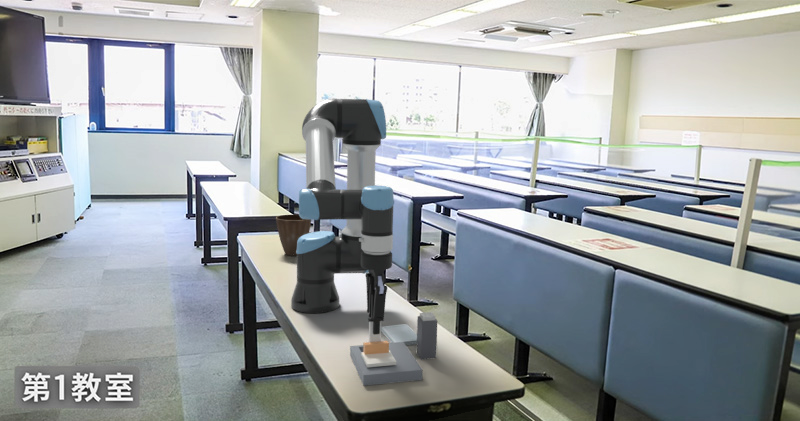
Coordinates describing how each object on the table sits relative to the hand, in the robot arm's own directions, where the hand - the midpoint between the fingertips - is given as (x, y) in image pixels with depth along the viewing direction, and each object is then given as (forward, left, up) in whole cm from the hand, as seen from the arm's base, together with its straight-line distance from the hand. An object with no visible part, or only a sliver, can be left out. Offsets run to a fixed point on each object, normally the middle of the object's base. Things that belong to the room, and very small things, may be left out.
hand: (374, 344), depth 144 cm
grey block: (-2, +14, -5) cm, 15 cm away
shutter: (+4, 0, -2) cm, 5 cm away
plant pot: (-115, -10, -5) cm, 116 cm away
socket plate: (+2, +2, -5) cm, 6 cm away
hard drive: (-16, +11, -6) cm, 20 cm away
